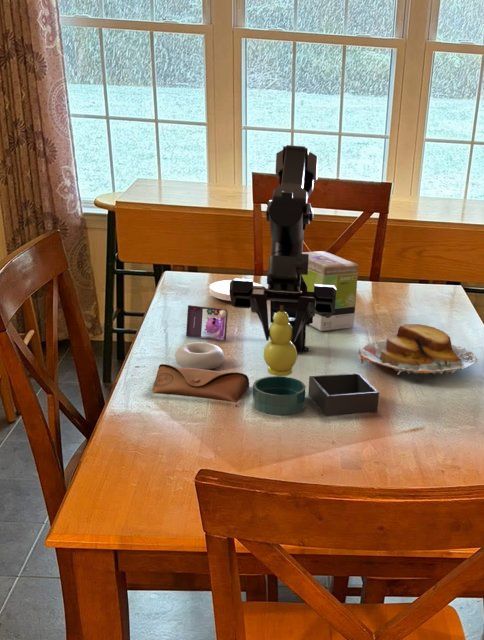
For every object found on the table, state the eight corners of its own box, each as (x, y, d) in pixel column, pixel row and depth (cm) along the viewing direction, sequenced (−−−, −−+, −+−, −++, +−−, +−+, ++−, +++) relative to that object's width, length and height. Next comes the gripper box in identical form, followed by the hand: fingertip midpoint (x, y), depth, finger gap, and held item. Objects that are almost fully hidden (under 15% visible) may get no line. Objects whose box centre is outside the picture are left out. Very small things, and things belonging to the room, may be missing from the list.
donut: (167, 369, 167) (215, 375, 165) (166, 352, 165) (214, 358, 163) (185, 353, 175) (230, 359, 173) (184, 337, 173) (230, 343, 172)
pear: (285, 364, 153) (287, 299, 147) (302, 374, 149) (305, 308, 143) (257, 369, 150) (258, 302, 143) (274, 380, 146) (276, 312, 140)
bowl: (255, 397, 157) (255, 374, 155) (305, 400, 158) (306, 378, 155) (250, 417, 149) (250, 393, 147) (303, 420, 150) (304, 397, 147)
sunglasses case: (146, 394, 153) (149, 358, 153) (156, 400, 160) (159, 366, 160) (241, 404, 153) (245, 368, 152) (247, 410, 160) (251, 375, 159)
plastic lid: (275, 299, 212) (276, 289, 211) (235, 308, 203) (235, 298, 202) (239, 286, 220) (239, 277, 218) (198, 295, 211) (198, 285, 209)
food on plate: (346, 374, 171) (348, 343, 167) (372, 339, 191) (375, 311, 188) (467, 393, 166) (472, 361, 163) (481, 355, 187) (486, 326, 183)
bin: (308, 399, 158) (309, 376, 156) (357, 395, 162) (358, 372, 159) (325, 420, 151) (327, 396, 148) (377, 415, 154) (379, 392, 151)
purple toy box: (187, 304, 181) (226, 309, 180) (193, 306, 186) (232, 311, 185) (185, 336, 183) (224, 340, 182) (191, 337, 188) (230, 341, 187)
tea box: (355, 327, 197) (360, 264, 189) (320, 332, 192) (323, 267, 184) (321, 310, 207) (324, 248, 199) (287, 314, 202) (289, 251, 194)
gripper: (230, 229, 140) (222, 314, 137) (339, 238, 141) (334, 322, 137) (235, 266, 151) (228, 344, 148) (337, 273, 151) (332, 352, 148)
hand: (280, 340), depth 145 cm, fingers closed on pear, 4 cm apart
